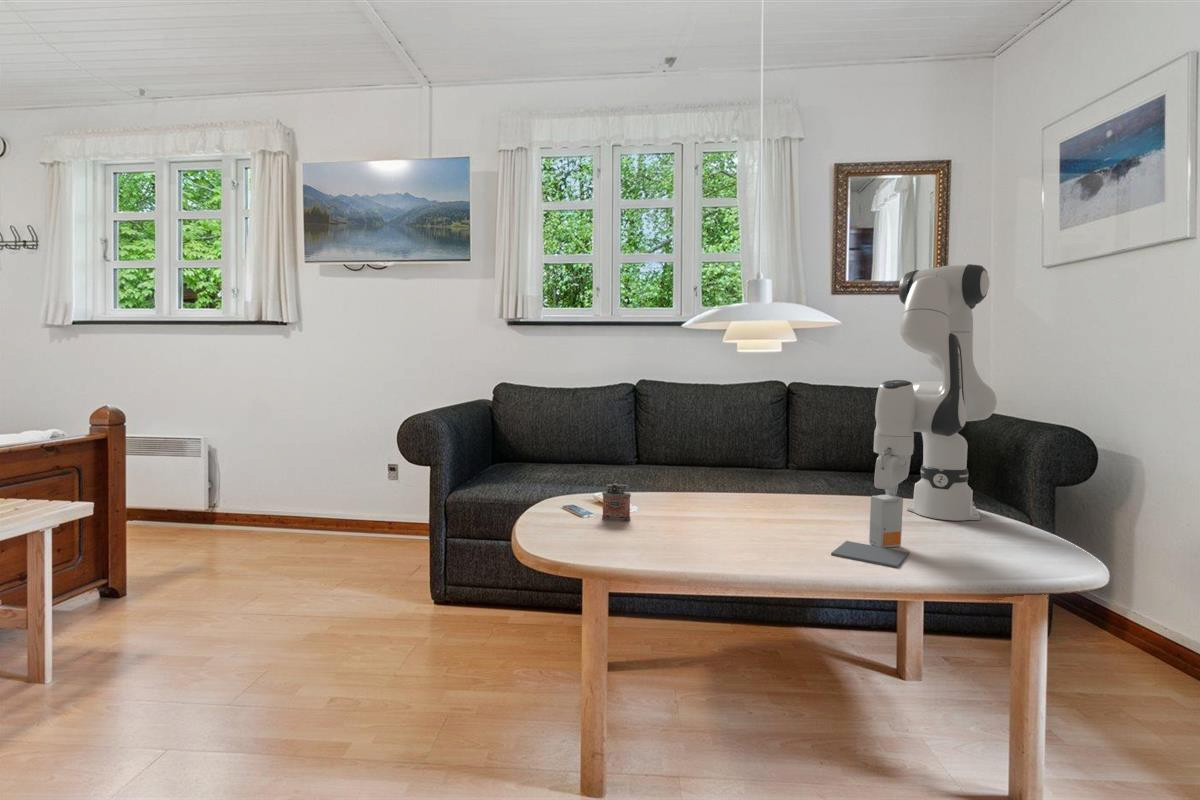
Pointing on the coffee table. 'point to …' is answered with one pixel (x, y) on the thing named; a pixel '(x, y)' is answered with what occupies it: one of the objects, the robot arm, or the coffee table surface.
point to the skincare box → (886, 520)
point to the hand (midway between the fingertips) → (890, 501)
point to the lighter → (616, 503)
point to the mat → (871, 554)
